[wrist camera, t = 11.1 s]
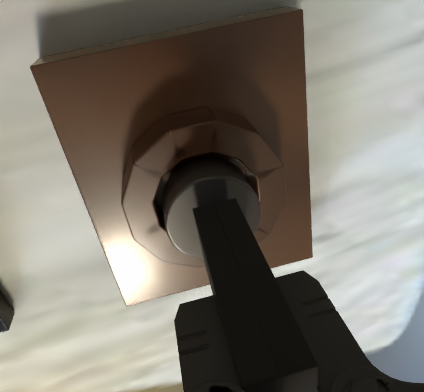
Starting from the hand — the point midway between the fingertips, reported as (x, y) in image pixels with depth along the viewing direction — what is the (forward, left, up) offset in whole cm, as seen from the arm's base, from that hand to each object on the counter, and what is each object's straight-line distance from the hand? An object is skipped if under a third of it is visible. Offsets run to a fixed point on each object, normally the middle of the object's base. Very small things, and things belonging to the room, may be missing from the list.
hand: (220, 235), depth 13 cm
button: (0, 0, -3) cm, 3 cm away
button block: (0, 0, -6) cm, 6 cm away
